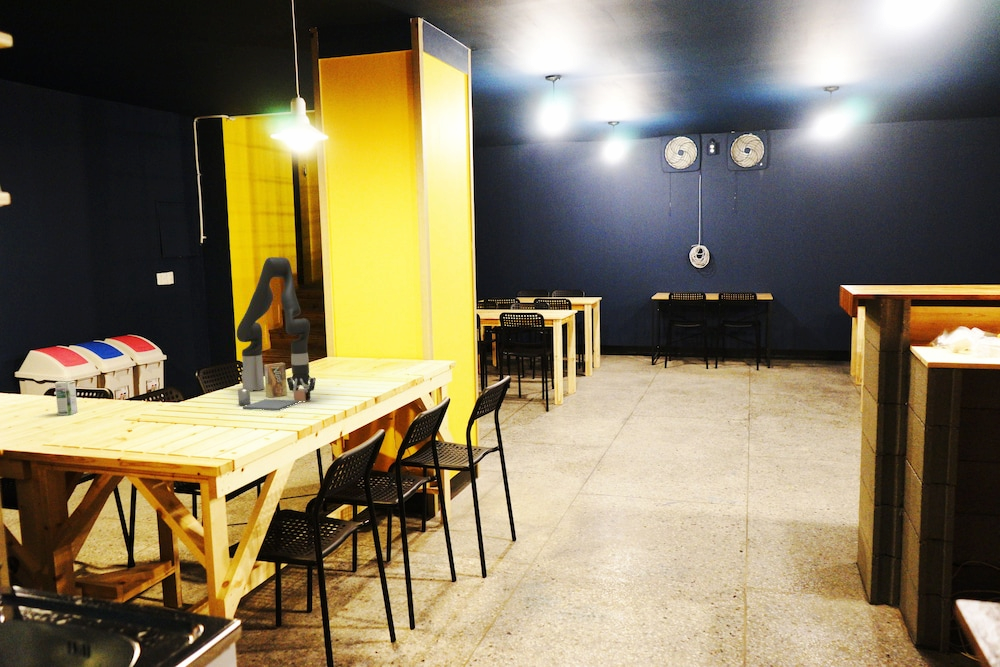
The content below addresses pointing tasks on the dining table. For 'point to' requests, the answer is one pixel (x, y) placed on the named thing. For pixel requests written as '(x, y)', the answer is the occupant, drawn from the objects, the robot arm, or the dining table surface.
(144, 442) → the dining table surface
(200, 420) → the dining table surface
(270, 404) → the slate board
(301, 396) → the terracotta block
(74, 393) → the syrup box
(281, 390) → the candy box
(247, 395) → the grey metal cylinder
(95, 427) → the dining table surface
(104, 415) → the dining table surface
